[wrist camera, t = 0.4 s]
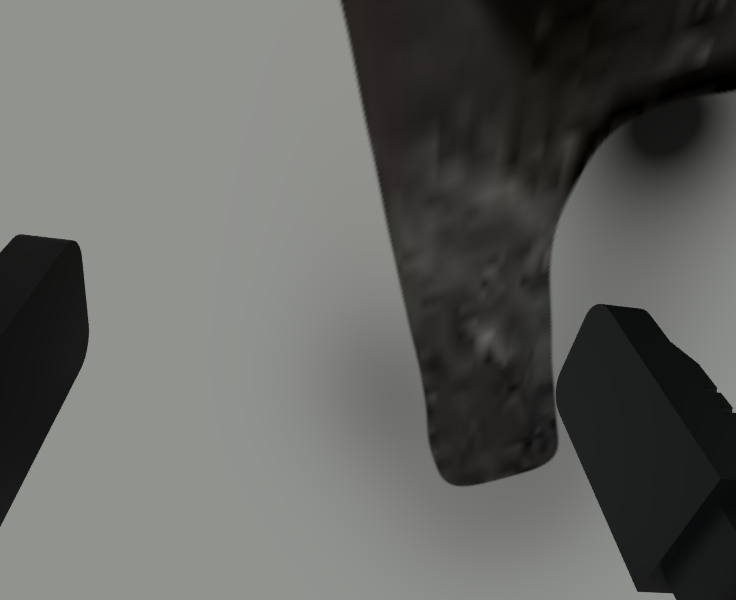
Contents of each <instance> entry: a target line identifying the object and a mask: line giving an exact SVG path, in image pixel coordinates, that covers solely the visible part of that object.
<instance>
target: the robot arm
mask: <svg viewBox="0 0 736 600" xmlns="http://www.w3.org/2000/svg"><path fill="white" fill-rule="evenodd" d="M88 338H89V323H88V314H87V303H86V294H85V284H84V273H83V263H82V255H81V250H80V247H79V245H78V243H77V242H75V241H73V240H65V239H56V238H47V237H39V236H30V235H21V234H20V235H17V236H15V237H14V238H13V239H12V240H11V241H10V242H9V243H8V245H7V246H6V247H5V248H4V249H3V250H2V251H1V252H0V526H1V524H2V522H3V520H4V518H5V516H6V514H7V512H8V511H9V509H10V507H11V505H12V503H13V501H14V499H15V497H16V495H17V493H18V491H19V489H20V487H21V485H22V483H23V481H24V479H25V477H26V475H27V473H28V471H29V469H30V467H31V465H32V463H33V461H34V459H35V457H36V455H37V454H38V451H39V450H40V448H41V446H42V444H43V442H44V440H45V438H46V436H47V434H48V432H49V430H50V428H51V426H52V424H53V422H54V420H55V418H56V416H57V414H58V412H59V411H60V409H61V407H62V405H63V403H64V401H65V399H66V397H67V395H68V393H69V391H70V389H71V387H72V385H73V383H74V381H75V379H76V377H77V375H78V373H79V371H80V369H81V367H82V365H83V362H84V359H85V356H86V352H87V346H88ZM556 403H557V408H558V411H559V414H560V416H561V418H562V421H563V423H564V425H565V427H566V430H567V432H568V434H569V437H570V439H571V441H572V443H573V446H574V448H575V450H576V452H577V455H578V457H579V459H580V462H581V464H582V466H583V469H584V471H585V473H586V475H587V478H588V479H589V482H590V484H591V486H592V489H593V491H594V493H595V496H596V498H597V500H598V503H599V505H600V507H601V509H602V512H603V514H604V516H605V519H606V521H607V523H608V525H609V528H610V530H611V532H612V534H613V537H614V539H615V541H616V543H617V546H618V548H619V551H620V553H621V555H622V557H623V560H624V562H625V564H626V566H627V569H628V571H629V573H630V576H631V578H632V580H633V582H634V585H635V587H636V589H637V591H638V592H657V593H658V592H659V593H673V594H674V596H675V598H676V600H736V413H732V407H731V405H730V404H729V403H728V401H727V400H726V399H725V398H724V396H723V395H722V394H721V393H717V387H716V386H715V385H714V383H713V382H712V381H711V379H710V378H709V377H708V376H707V374H706V373H705V372H704V370H703V369H702V368H701V367H700V365H699V364H698V363H696V362H695V361H694V360H693V359H692V358H690V357H689V356H688V355H687V354H685V353H684V352H683V351H681V350H680V349H679V348H678V347H676V346H675V345H674V344H673V343H671V342H670V341H669V339H668V338H667V337H666V335H665V334H664V333H663V331H662V330H661V329H660V327H659V326H658V325H657V323H656V322H655V321H654V319H653V318H652V317H651V316H650V314H649V313H648V312H647V311H645V310H643V309H638V308H630V307H621V306H613V305H605V304H597V305H595V306H593V307H592V308H591V309H590V310H589V312H588V313H587V315H586V317H585V319H584V321H583V323H582V326H581V328H580V330H579V332H578V334H577V337H576V339H575V341H574V343H573V346H572V348H571V350H570V352H569V354H568V356H567V359H566V361H565V363H564V365H563V367H562V370H561V372H560V374H559V377H558V381H557V386H556Z"/></svg>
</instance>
